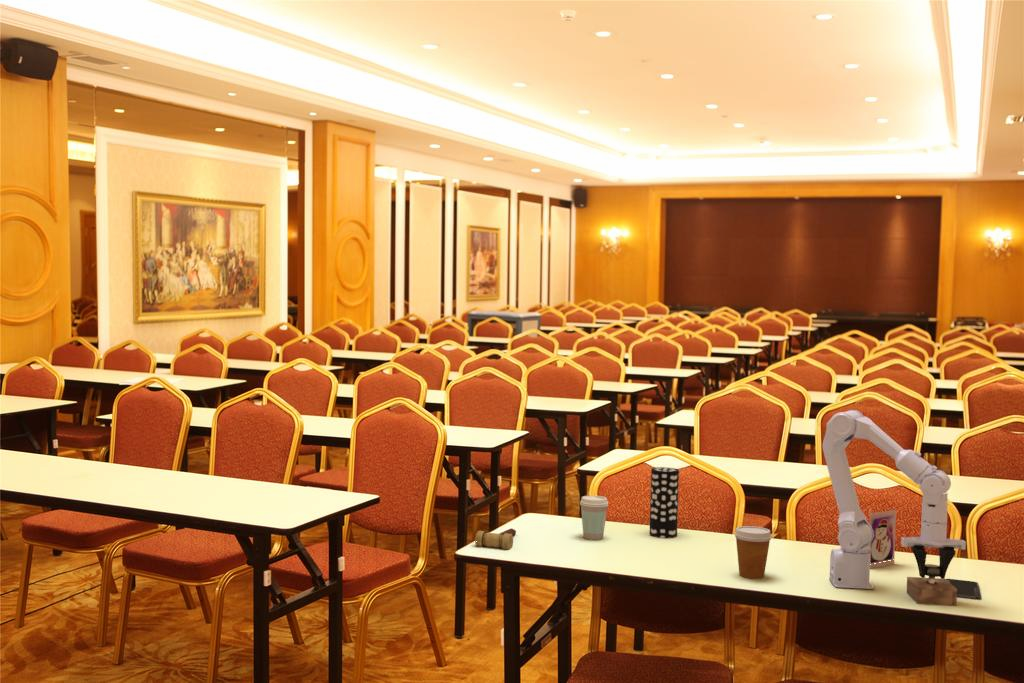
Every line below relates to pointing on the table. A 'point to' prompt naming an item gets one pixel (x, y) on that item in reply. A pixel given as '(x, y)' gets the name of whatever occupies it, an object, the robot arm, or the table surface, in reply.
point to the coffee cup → (593, 516)
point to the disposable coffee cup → (752, 550)
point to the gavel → (495, 539)
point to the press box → (931, 591)
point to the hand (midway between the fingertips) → (931, 577)
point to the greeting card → (882, 538)
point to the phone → (966, 589)
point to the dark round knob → (932, 572)
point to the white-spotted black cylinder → (664, 502)
